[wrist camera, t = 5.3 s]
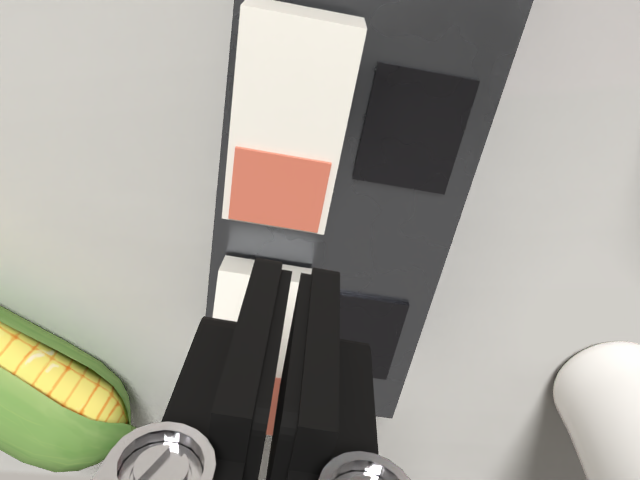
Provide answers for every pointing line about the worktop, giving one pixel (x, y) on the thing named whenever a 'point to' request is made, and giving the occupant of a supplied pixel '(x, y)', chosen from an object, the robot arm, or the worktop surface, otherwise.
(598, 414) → the drinking glass
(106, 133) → the worktop surface
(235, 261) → the block
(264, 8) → the plate
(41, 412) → the edible corn
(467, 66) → the rocker switch panel
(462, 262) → the worktop surface
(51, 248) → the worktop surface
